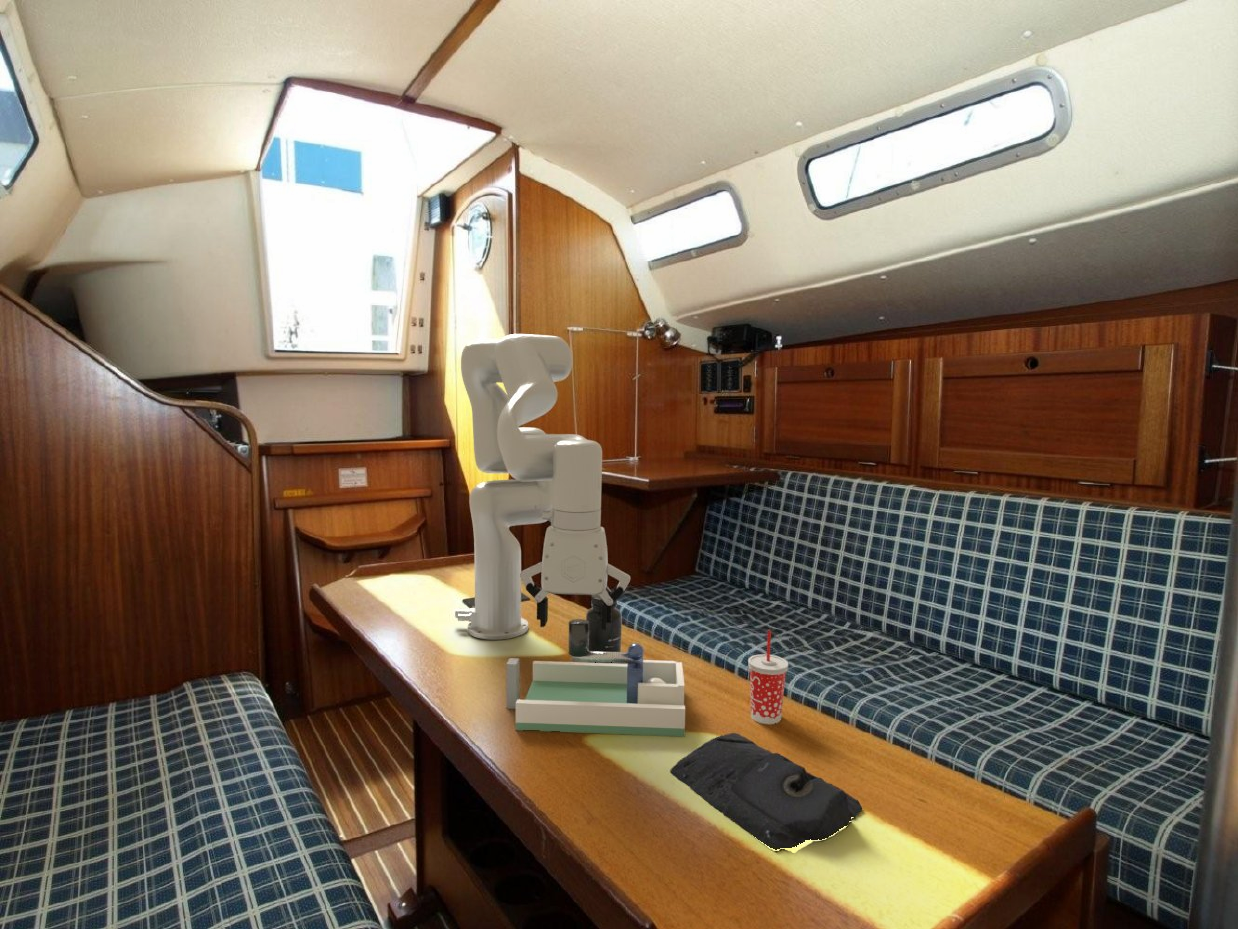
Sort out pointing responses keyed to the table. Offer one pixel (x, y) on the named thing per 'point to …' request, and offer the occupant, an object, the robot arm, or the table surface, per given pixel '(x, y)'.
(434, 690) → the table surface
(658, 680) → the ball
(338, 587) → the table surface
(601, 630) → the supplement bottle
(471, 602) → the smartphone
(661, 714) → the pitch
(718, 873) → the table surface
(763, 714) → the beverage cup
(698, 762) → the dark slate chunk
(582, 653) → the table football player
